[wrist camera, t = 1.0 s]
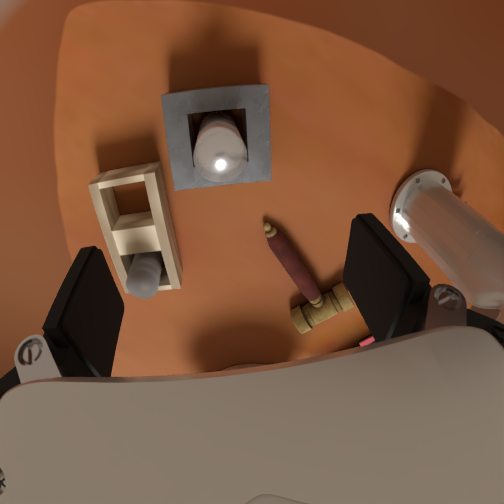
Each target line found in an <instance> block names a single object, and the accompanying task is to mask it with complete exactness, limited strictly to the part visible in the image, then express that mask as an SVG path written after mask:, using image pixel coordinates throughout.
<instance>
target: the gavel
mask: <svg viewBox="0 0 504 504" xmlns="http://www.w3.org/2000/svg"><path fill="white" fill-rule="evenodd" d="M263 228H264V230H266V232H265V235H266V236H267V240H268V244H269V247H270V248H271V250H272V251H273V253H274V254H275V255H276V257H277V258H278V260H279V261H280V262H281V264H282V265H283V267H284V268H285V269H286V271H287V272H288V274H289V275H290V277H291V278H292V279H293V281H294V282H295V284H296V285H297V286H298V288H299V289H300V291H301V292H302V294H303V295H304V296H305V297H306V298H307V299H308V300H309V301H310V302H309V303H307V304H306V305H305V306H303V307H302V306H301V305H299V306H297V307H295V308H294V309H292V310H290V315H291V318H292V321H293V323H294V325H295V327H296V328H297V330H298V331H299V332H300V333H302V334H303V333H305V332H307V331H309V330H311V329H312V326H313V325H315V324H319V323H321V322H323V321H325V320H327V319H328V318H330V317H332V316H334V315H336V314H338V312H339V311H341V310H344V311H347V310H349V309H351V308H352V307H354V303H353V301H352V299H351V297H350V295H349V293H348V292H347V290H346V288H345V286H344V284H343V283H342V282H341V283H339V284H337V285H336V286H334V287H332V289H333V290H332V291H331V292H329V293H325V294H323V295H321V294H320V292H319V289H318V287H317V285H316V283H315V282H314V280H313V279H312V277H311V276H310V274H309V272H308V271H307V269H306V268H305V266H304V265H303V263H302V261H301V260H300V258H299V257H298V255H297V254H296V252H295V251H294V249H293V248H292V246H291V245H290V243H289V242H288V240H287V238H286V237H285V236H284V235H283V234H282V233H280V232H279V231H277V230H276V229H275V228H274V227H271V225H270V224H269V223H265V224H264V225H263Z"/></svg>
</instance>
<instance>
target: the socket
mask: <svg viewBox="0 0 504 504" xmlns="http://www.w3.org/2000/svg"><path fill="white" fill-rule="evenodd" d="M161 99H162V107H163V115H164V123H165V131H166V138H167V145H168V152H169V158H170V164H171V171H172V177H173V183H174V189H175V191H176V190H184V189H192V188H200V187H208V186H217V185H226V184H236V183H246V182H258V181H270V180H271V144H270V112H269V85H268V84H262V83H254V84H236V85H223V86H213V87H204V88H195V89H188V90H181V91H174V92H169V93H166V94H163V95H161ZM240 108H241V114H242V131H243V142H244V145H245V147H246V150H247V163H246V166H245V168H244V170H243V171H242V172H241V174H239V175H238V176H237V177H236V178H234V179H232V180H230V181H227V182H213V181H209V180H207V179H205V178H204V177H203V176H201V175H200V174H199V172H198V171H197V169H196V168H195V165H194V160H193V155H194V150H195V141H194V132H193V123H192V114H191V113H199V112H208V111H217V110H228V109H240Z"/></svg>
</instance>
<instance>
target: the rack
mask: <svg viewBox="0 0 504 504" xmlns="http://www.w3.org/2000/svg"><path fill="white" fill-rule="evenodd" d="M140 181H145V185H146V190H147V194H148V199H149V203H150V208H151V211H147V212H140V213H133V214H127V215H121V216H120V213H119V210H118V206H117V203H116V199H115V195H114V191H113V187H112V186H118V185H123V184H129V183H134V182H140ZM88 186H89V190H90V194H91V197H92V200H93V204H94V207H95V210H96V214H97V217H98V220H99V223H100V226H101V229H102V232H103V235H104V238H105V241H106V244H107V247H108V249H109V252H110V255H111V258H112V260H113V263H114V266H115V268H116V271H117V273H118V276H119V278H120V281H121V283H122V286H123V288H124V291H125V293H131V294H132V295H134V296H136V297H138V298H150V297H152V296H154V295H155V294H156V293H157V291H158V290H168V289H178V288H181V282H182V272H183V269H182V264H181V260H180V256H179V252H178V247H177V243H176V238H175V234H174V229H173V224H172V219H171V215H170V210H169V205H168V199H167V194H166V189H165V183H164V178H163V172H162V167H161V161H159V162H153V163H147V164H141V165H136V166H130V167H125V168H120V169H115V170H110V171H106V172H101V173H99V174H98V175H97V176H96V177H95V178H94V179H93V180H92V181H91V182H90V184H89V185H88ZM132 254H135V255H134V258H133V256H132ZM163 260H164V263H165V267H162V264H163Z"/></svg>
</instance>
